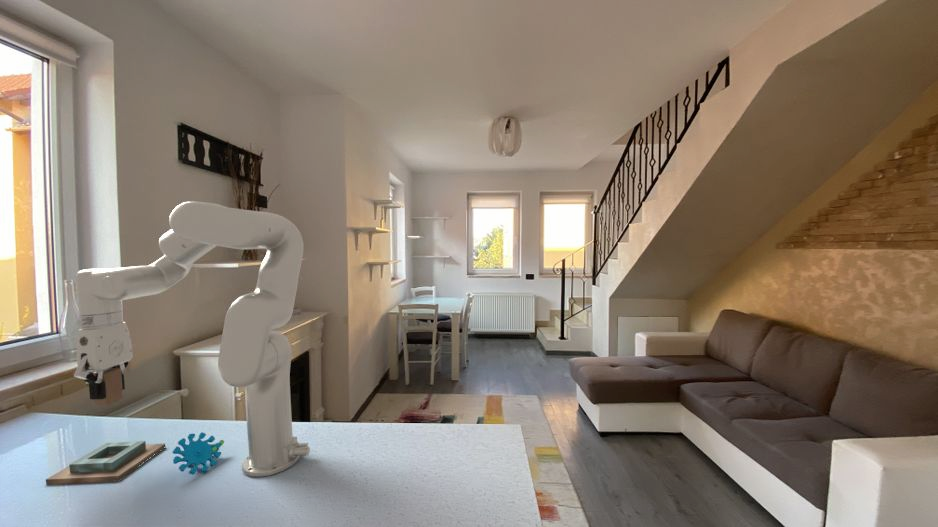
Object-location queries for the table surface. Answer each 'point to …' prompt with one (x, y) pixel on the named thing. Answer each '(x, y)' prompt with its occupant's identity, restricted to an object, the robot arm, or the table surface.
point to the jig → (106, 463)
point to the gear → (197, 453)
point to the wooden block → (111, 386)
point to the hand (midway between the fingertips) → (108, 393)
